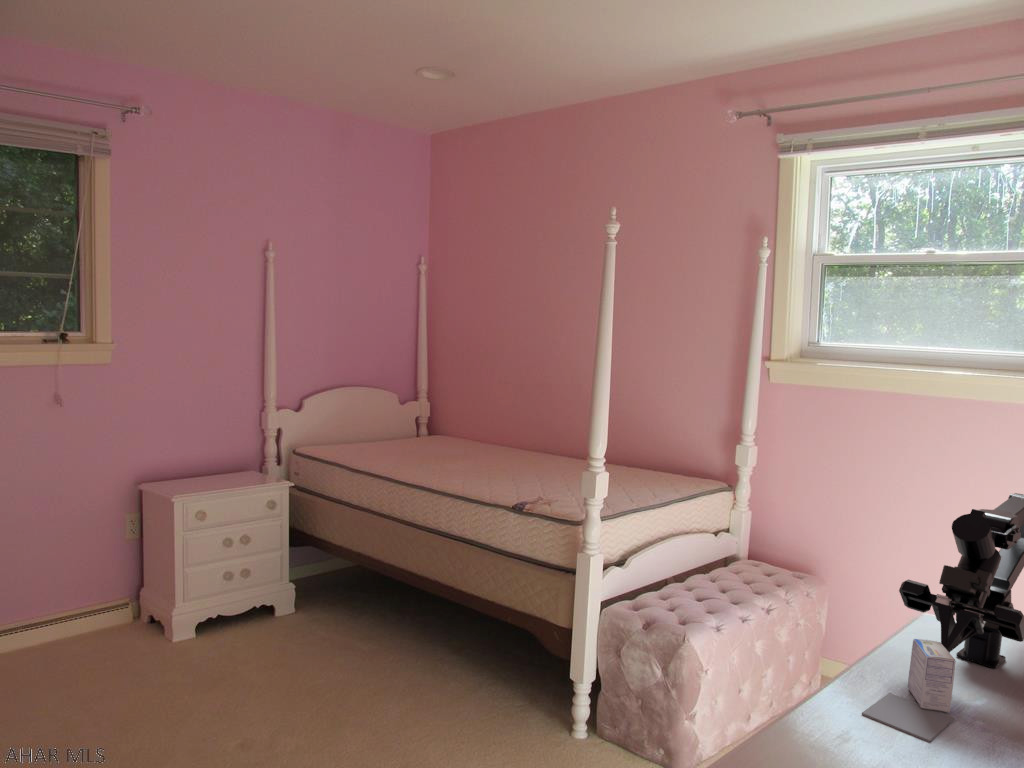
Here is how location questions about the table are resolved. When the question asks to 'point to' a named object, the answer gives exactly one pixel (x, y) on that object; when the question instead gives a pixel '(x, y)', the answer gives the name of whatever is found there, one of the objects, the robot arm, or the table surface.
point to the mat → (908, 717)
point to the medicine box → (931, 675)
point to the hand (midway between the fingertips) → (944, 652)
